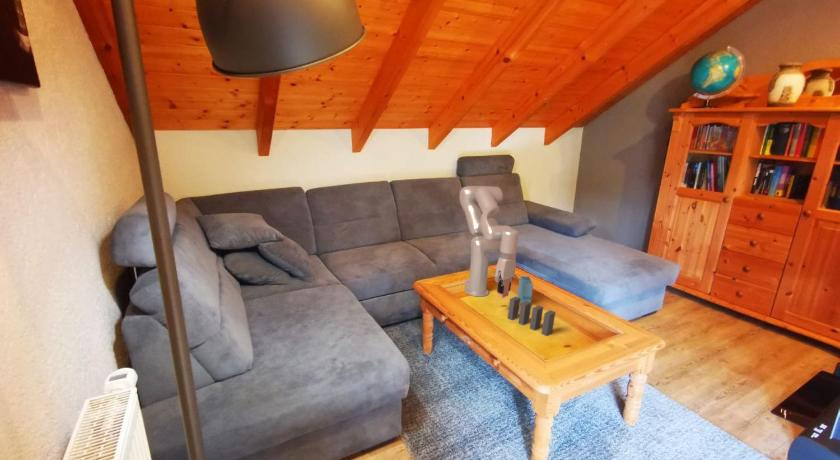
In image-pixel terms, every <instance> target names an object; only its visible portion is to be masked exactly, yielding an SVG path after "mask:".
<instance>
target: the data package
mask: <svg viewBox="0 0 840 460" xmlns="http://www.w3.org/2000/svg"><path fill="white" fill-rule="evenodd" d="M518 281H519V282H518V289H517V297H519V298H520V304H521V303H523V302H525V301H529V302H531V303H532V296H533V288H534V283H533V282H532V280H531V278H530V276H527V275H526V276H525V275H520V276H519V280H518Z"/></svg>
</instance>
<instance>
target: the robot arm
mask: <svg viewBox="0 0 840 460" xmlns="http://www.w3.org/2000/svg"><path fill="white" fill-rule="evenodd" d="M503 195H504V193H503V190H502V189H501V188H500V187H498V186H491V185H490V186H488V185H467V186H463V187H461V189H460V191H459V203H460V206H461V208H462V211H463V212H464V213H465V217H466V218H465V219H466V221H467V226H468V229H469V232H470V234H472V235H473V236H474V237H473V238H472V239H471V241H470V267H469V277H468V280H467V279H465V280H464V281H463V285H465V286H466V287H465V289H464V291H465V293H466V294H467V295H470V296H473V297H482V298H483V297H486V296H488V295H489V290H488V289H487V282H488V272H489V265H490V264H489V259H488V258H487V254H489V255H490V254H499V257H498V258H497V259H498V260H497V264H496V268H495V273H494V277H495V279H494V281H495V282H496V285H497V289H496V290H497V291H496V293H501V294H503V291H504V286H503V285H504V281H505V280H506V279H509V278H510V284H509V292H511V286H512V282H513V279H514V276H515V275H516V274H515V273H516V257H517V249H518V241H519V231H518V230H517V229H513V228H512V227H511V226H510V225H505V224H504V225H499V224H498V223H499V222H497V220H496V219H495V218H493V217H495V216H496V215H497V214H499V211H500V208H499V205H498V203H500V202H501V201H502V200H503V199H504V198H503V197H504V196H503ZM475 202H476V203H478V205H477V204H476V203H475ZM500 277H501V278H502V279H501V278H500ZM500 280H502V282H501V281H500Z"/></svg>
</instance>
